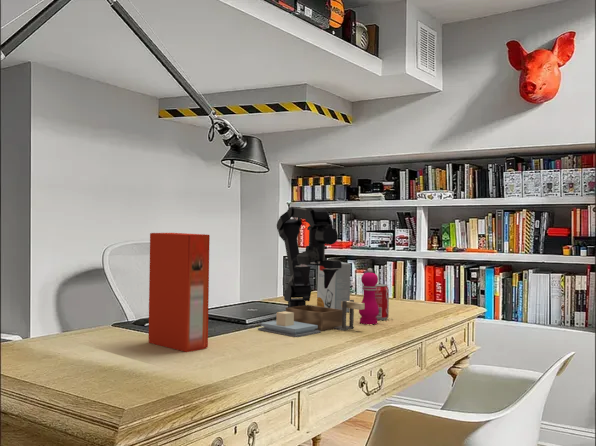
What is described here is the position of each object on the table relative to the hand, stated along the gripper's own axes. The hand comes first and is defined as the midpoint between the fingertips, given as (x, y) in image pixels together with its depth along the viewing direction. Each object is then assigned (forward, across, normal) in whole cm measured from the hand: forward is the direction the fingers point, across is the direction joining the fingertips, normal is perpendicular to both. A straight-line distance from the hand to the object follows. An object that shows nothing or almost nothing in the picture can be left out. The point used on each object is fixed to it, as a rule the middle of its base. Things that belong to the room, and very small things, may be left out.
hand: (315, 287), depth 220 cm
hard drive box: (+13, -17, +32) cm, 39 cm away
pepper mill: (+13, +12, +16) cm, 24 cm away
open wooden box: (+13, +5, -3) cm, 14 cm away
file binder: (+13, -2, -59) cm, 61 cm away
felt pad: (+13, +4, -18) cm, 23 cm away
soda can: (+13, +9, +27) cm, 31 cm away
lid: (+12, +4, -18) cm, 22 cm away
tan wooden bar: (+6, +16, 0) cm, 17 cm away
